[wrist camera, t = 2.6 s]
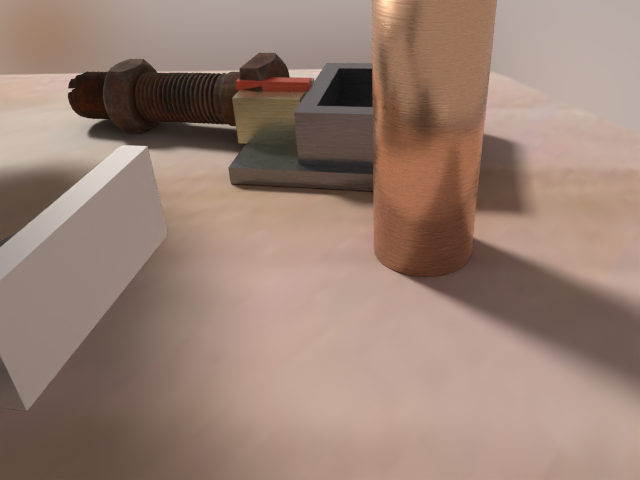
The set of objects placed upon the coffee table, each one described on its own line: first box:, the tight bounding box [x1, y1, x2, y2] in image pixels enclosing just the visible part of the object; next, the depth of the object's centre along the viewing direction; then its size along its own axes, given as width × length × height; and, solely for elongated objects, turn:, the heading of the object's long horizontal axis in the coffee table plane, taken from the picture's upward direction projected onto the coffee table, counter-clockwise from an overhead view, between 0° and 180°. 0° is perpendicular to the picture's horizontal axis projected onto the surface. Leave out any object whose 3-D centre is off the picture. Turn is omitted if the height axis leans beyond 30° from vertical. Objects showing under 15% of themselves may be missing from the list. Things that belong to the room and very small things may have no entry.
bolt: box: [68, 53, 290, 134], centre depth 40 cm, size 6×5×15 cm
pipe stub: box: [372, 0, 497, 277], centre depth 24 cm, size 4×4×12 cm
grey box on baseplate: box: [229, 63, 373, 191], centre depth 35 cm, size 13×10×4 cm
